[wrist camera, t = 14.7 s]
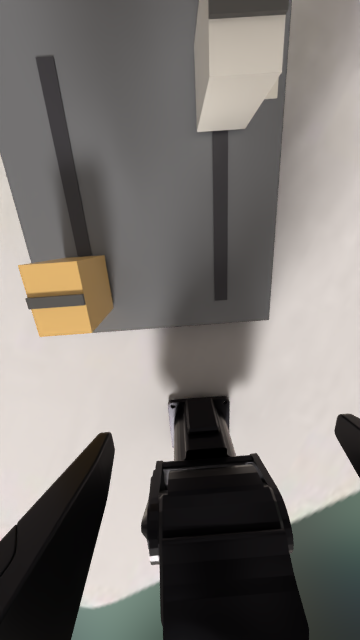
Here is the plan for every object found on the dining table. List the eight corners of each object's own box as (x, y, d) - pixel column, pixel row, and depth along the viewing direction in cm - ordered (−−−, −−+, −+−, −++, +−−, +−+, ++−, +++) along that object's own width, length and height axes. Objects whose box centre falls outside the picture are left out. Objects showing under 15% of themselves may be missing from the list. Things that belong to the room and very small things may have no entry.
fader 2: (244, 128, 14) (284, 68, 9) (196, 132, 14) (210, 73, 9) (247, 41, 13) (294, -85, 8) (194, 45, 13) (207, -80, 8)
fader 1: (113, 308, 18) (90, 334, 13) (75, 310, 18) (37, 338, 13) (104, 255, 16) (74, 261, 11) (62, 258, 16) (15, 265, 11)
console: (257, 310, 21) (269, 320, 19) (65, 325, 21) (51, 336, 18) (275, -12, 14) (297, -66, 11) (-17, 6, 14) (-57, -45, 11)
